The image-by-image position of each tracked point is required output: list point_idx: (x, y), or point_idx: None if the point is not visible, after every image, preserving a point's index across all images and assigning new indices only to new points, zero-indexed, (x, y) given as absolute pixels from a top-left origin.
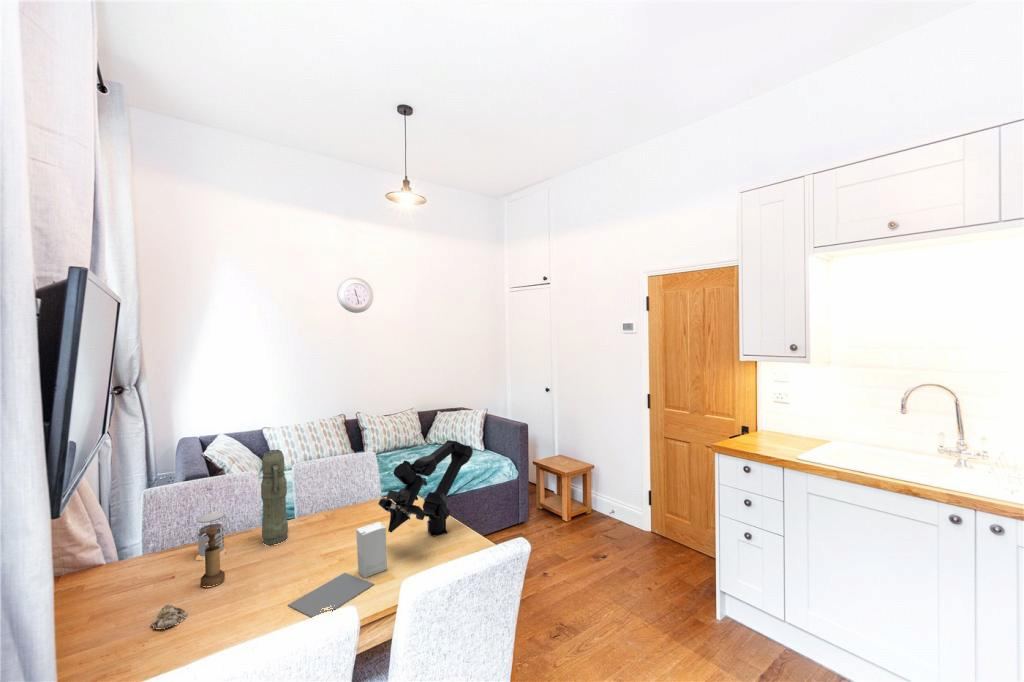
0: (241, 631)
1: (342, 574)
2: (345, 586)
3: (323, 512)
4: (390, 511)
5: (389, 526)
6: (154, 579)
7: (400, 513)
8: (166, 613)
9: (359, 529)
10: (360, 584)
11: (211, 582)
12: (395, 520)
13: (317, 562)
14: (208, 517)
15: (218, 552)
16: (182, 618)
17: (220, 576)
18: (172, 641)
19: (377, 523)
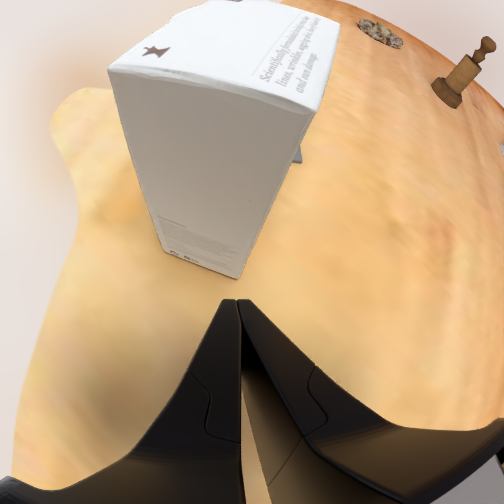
0: None
1: (297, 150)
2: None
3: None
4: (435, 437)
5: (260, 321)
6: (476, 101)
7: (77, 489)
8: (377, 23)
9: (312, 16)
10: None
11: (435, 80)
12: (194, 387)
13: (422, 188)
14: None
15: (467, 65)
16: (367, 31)
17: (442, 85)
18: (326, 13)
19: (275, 72)
